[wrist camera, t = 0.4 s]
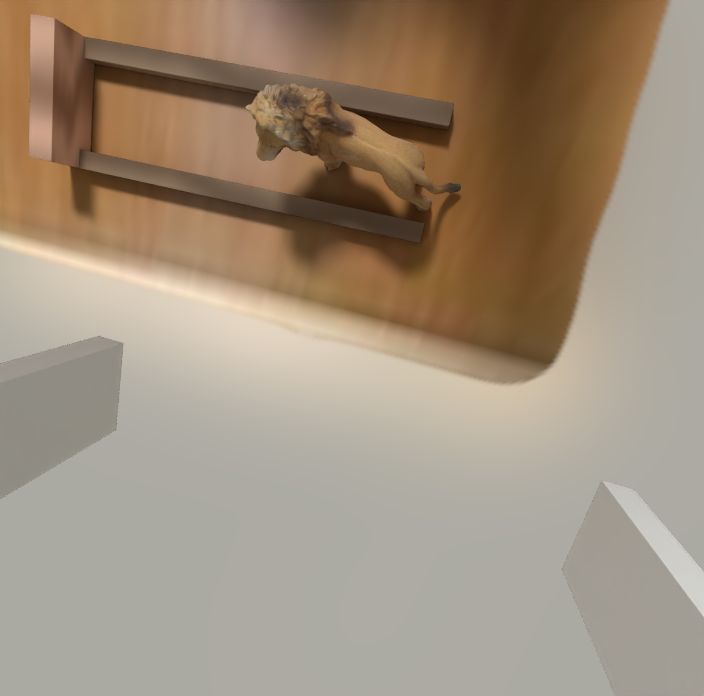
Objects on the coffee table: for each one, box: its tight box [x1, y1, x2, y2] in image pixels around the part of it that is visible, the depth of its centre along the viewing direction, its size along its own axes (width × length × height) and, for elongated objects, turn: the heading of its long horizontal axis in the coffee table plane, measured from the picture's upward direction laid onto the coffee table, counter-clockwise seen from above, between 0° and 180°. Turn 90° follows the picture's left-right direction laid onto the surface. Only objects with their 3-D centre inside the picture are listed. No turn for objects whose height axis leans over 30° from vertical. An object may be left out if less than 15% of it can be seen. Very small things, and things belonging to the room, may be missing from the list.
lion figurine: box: [246, 83, 461, 211], centre depth 29 cm, size 15×5×9 cm, turn 74°
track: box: [29, 14, 454, 243], centre depth 33 cm, size 10×32×4 cm, turn 78°
